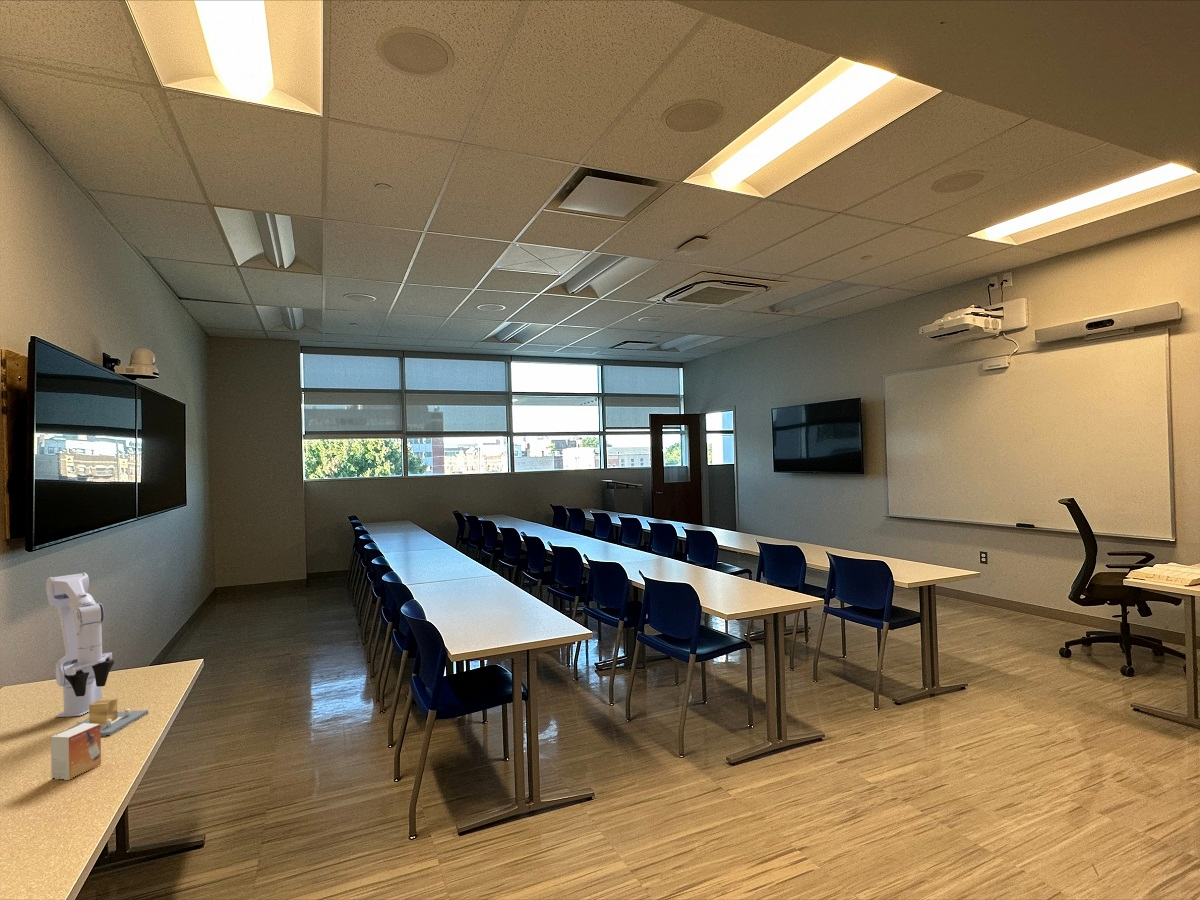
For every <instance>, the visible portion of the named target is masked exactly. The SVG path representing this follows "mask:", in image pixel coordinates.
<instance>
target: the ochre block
mask: <svg viewBox="0 0 1200 900" xmlns="http://www.w3.org/2000/svg"><path fill="white" fill-rule="evenodd" d="M117 712H118V698H102V699H100V700H98V701H96V702H94V703H92V704H90V705H89V712H88V715H89V716H88V718H89V723H92V724H100V725H105V724H106V720H108V719H111V722H112V721H114V720H116V719H118V715H117Z"/></svg>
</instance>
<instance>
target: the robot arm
mask: <svg viewBox="0 0 1200 900" xmlns="http://www.w3.org/2000/svg"><path fill="white" fill-rule="evenodd" d="M89 587H90V579H89V575H88V574H87V572H80V573H76V574H75V573H73V574H67V575H60V576H59V575H58V576H49V577H48V578H47V579H46V583H45V588H46V589H45V590H46V595H47V602H48V604H49V606H52V607H55V608H56V610H57V612H58V614H59V621H60V627H61V628H60V629H61V632H62V638H63V639H62V640H63V645H64V653H65V655H63V657H61V658H60V659H59V660H58V661H57V662H56V664H55V681H56V684H57V686H59V687H62V690H63V691H62V694H63V699H62V700H63V711H62V712H60V713H58V714H56V715H55V718H64V717H80V716H81V715H82V716H84V715H86V714H88V713H89V705H90V704H92V703H94V702H96V701H98V700H100V699H103V687H106V684H107V680H108V677H109V673H110V671H111V669H112V667H113V665H114V664H115V660H113V652H104V653H103V638H102V637H103V636H102V635H103V630H102V629H103V627H102V623H104V622H105V621H104V620H105V610H104V606H103V604H102V603H101V602H100V603H98V602H96V600H94V599H95V598H94V597H93V596H92V594H90V593H89V592H88V590H89ZM87 712H88V713H87ZM85 713H86V714H85ZM83 714H84V715H83Z"/></svg>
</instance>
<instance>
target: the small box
mask: <svg viewBox="0 0 1200 900" xmlns="http://www.w3.org/2000/svg"><path fill="white" fill-rule="evenodd" d="M68 729H69V728H68ZM66 730H67V729H66ZM63 731H64V732H63ZM63 731H61V732H62V733H61V732H59V733H60V734H59V733H58V734H54V735H52V736H50V767H51V768H50V769H51V771H50V774H51V775H50V777H51V779H52V778H55V779H54V780H58V779H64V780H63V781H70V779H71V780H72V779H74V778H76V777H78V776H80V775H82V774H84V772H85V773H87V772H89V771H91V770H92V768H93V769H95V768H97V767H96V766H98V765H100V764H101V765H102V739H101V737H102V736H101V729H100V724H92V723H82V724H80V725H79V726H76V727H74V728H72V729H69V730H67V731H65V730H63ZM101 765H100V766H101ZM94 767H95V768H94ZM98 767H99V766H98ZM90 769H91V770H90ZM88 770H89V771H88ZM86 771H87V772H86ZM81 773H82V774H81ZM79 774H80V775H79ZM77 775H78V776H77ZM75 776H76V777H75ZM73 777H74V778H73Z"/></svg>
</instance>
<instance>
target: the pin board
mask: <svg viewBox="0 0 1200 900" xmlns="http://www.w3.org/2000/svg"><path fill="white" fill-rule="evenodd" d="M147 713H148V714H149V710H148V709H143V710H131V709H130V708H126V709H124V711H117V715H118V719H116V720H114V721H112V722H111V719H108V720H106V724H105V725H100V729H101V737H107V736H106V735H111V736H113V735H114V734H116V733H118V732H119V731H121V730H122V729H121V728H123V727H124V728H126V727H127V726H126V725H128V724H130V723H131V722H133V721H135V720H136V721H138V720H139V719H138V718H140V717H141V718H143V717H145V716H146V715H145V714H147ZM148 714H147V715H148ZM144 715H145V716H144ZM142 716H143V717H142ZM141 718H140V719H141ZM137 719H138V720H137ZM136 721H135V722H136ZM82 723H89V717H88V718H86V719H84V720H78V721H76V724H75V725H73V726H70V727H69V728H68V729H67V728H66V729H65V730H63V731H61V732H59V733H58V734H60V733H62V732H64V731H67V730H69V729H72V728H74V727H76V726H79V725H80V724H82ZM133 723H134V722H133ZM131 724H132V723H131ZM131 724H130V725H131ZM125 726H126V727H125ZM128 726H129V725H128ZM124 728H123V729H124ZM120 729H121V730H120ZM118 730H119V731H118ZM117 731H118V732H117ZM115 732H116V733H115ZM113 733H114V734H113ZM112 734H113V735H112Z"/></svg>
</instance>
